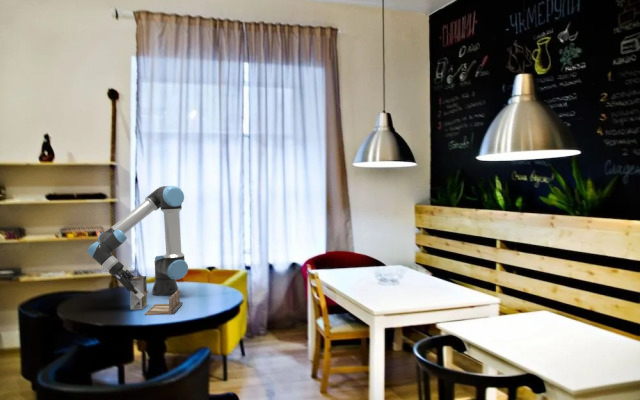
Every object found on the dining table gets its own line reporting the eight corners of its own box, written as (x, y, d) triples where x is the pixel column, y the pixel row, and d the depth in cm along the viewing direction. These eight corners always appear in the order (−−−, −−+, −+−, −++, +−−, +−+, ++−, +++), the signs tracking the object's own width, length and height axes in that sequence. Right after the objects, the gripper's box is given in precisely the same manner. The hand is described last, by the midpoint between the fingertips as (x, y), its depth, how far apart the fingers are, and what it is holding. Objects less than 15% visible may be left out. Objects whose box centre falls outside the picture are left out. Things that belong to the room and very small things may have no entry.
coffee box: (135, 305, 254) (134, 275, 253) (147, 305, 254) (146, 275, 254) (129, 309, 244) (129, 279, 244) (142, 309, 245) (142, 278, 245)
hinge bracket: (155, 305, 254) (155, 290, 254) (182, 304, 255) (182, 289, 255) (144, 315, 234) (144, 299, 234) (174, 314, 235) (174, 298, 235)
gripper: (115, 268, 258) (145, 295, 260) (100, 275, 237) (133, 305, 238) (125, 258, 259) (155, 286, 260) (111, 264, 237) (143, 294, 239)
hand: (144, 295), depth 249 cm, fingers closed on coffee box, 9 cm apart
